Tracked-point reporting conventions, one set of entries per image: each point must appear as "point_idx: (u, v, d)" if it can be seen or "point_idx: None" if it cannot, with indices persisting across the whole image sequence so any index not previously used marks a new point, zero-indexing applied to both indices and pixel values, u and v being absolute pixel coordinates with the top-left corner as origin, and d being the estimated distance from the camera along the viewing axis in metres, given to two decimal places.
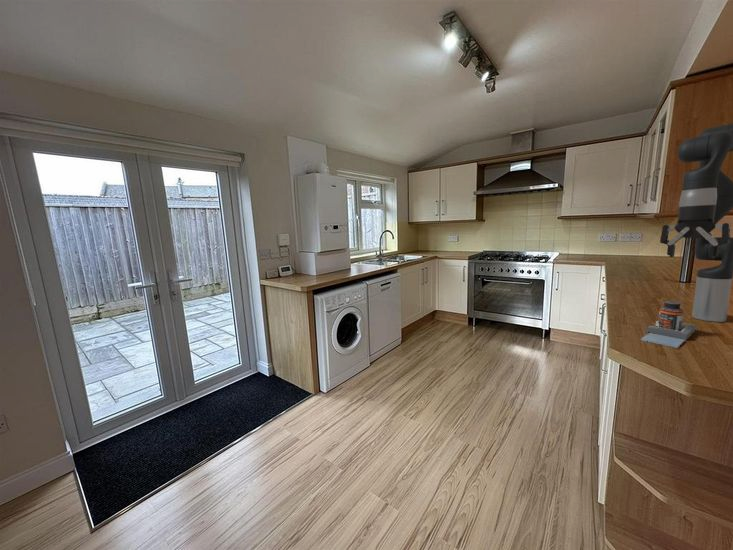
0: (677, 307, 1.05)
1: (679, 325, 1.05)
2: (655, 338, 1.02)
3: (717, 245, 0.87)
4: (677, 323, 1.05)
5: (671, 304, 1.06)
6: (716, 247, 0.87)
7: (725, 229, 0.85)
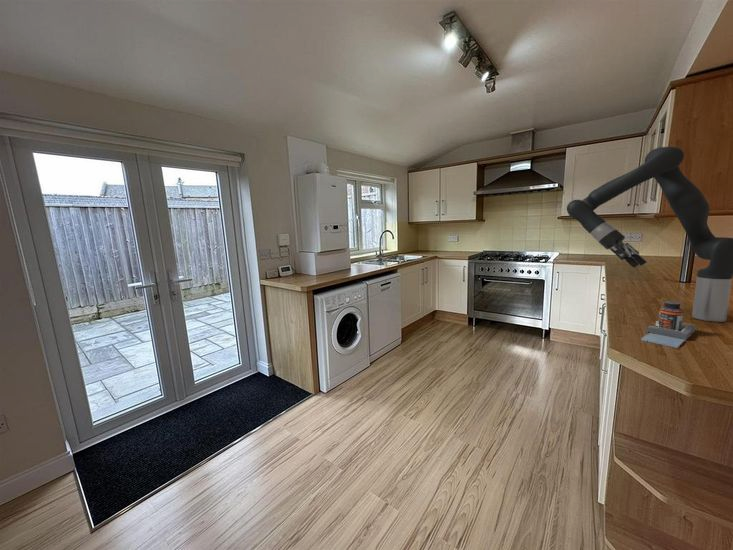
0: (677, 307, 1.05)
1: (679, 325, 1.05)
2: (655, 338, 1.02)
3: (625, 259, 1.14)
4: (677, 324, 1.05)
5: (671, 304, 1.06)
6: None
7: None
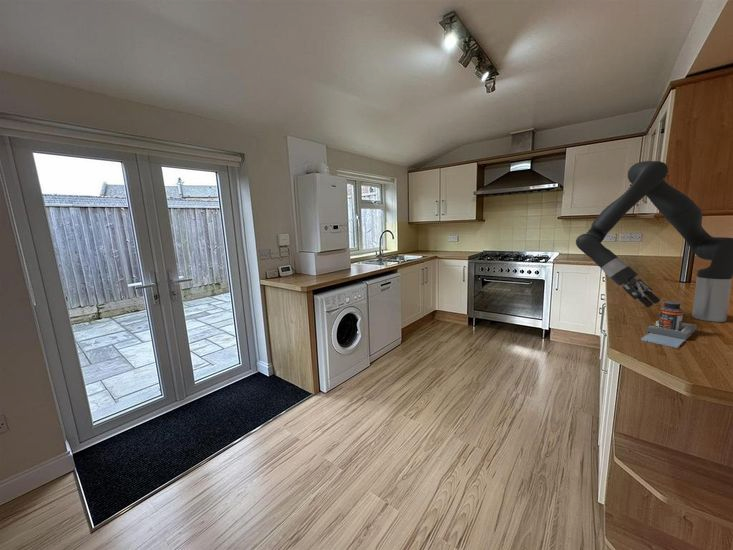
0: (677, 307, 1.05)
1: (679, 325, 1.05)
2: (655, 338, 1.02)
3: (638, 299, 1.11)
4: (677, 323, 1.05)
5: (671, 304, 1.06)
6: None
7: None
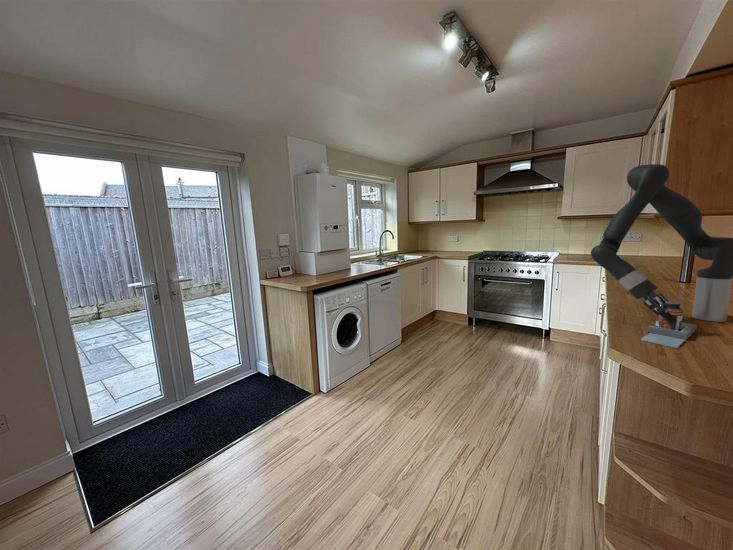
0: (677, 307, 1.05)
1: (679, 325, 1.05)
2: (655, 338, 1.02)
3: None
4: (677, 323, 1.05)
5: (671, 304, 1.06)
6: None
7: None
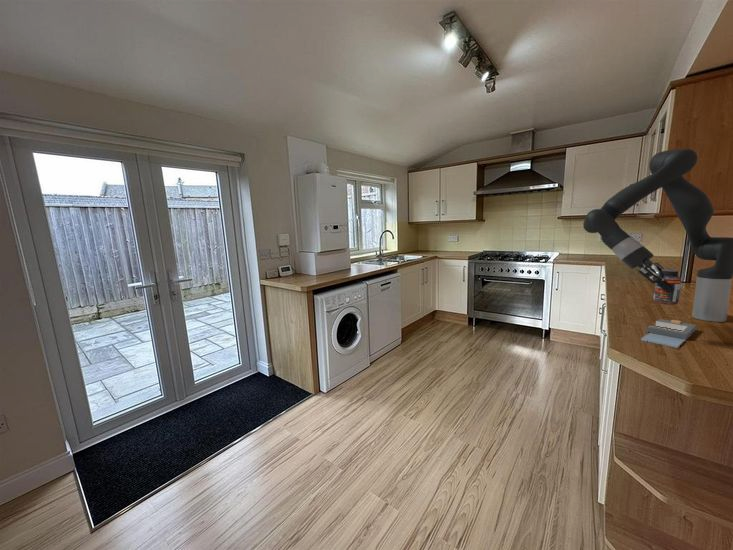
0: (675, 275, 0.96)
1: (677, 294, 0.96)
2: (655, 338, 1.02)
3: (657, 283, 0.97)
4: (675, 293, 0.96)
5: (668, 271, 0.96)
6: None
7: None
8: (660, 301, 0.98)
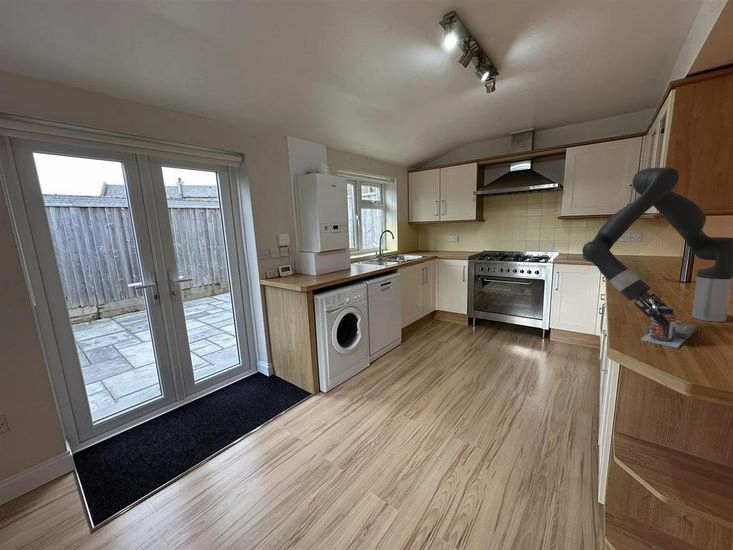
0: (670, 312, 0.98)
1: (672, 331, 0.98)
2: None
3: (653, 317, 0.99)
4: (670, 330, 0.98)
5: (663, 309, 0.99)
6: None
7: None
8: (656, 337, 1.00)
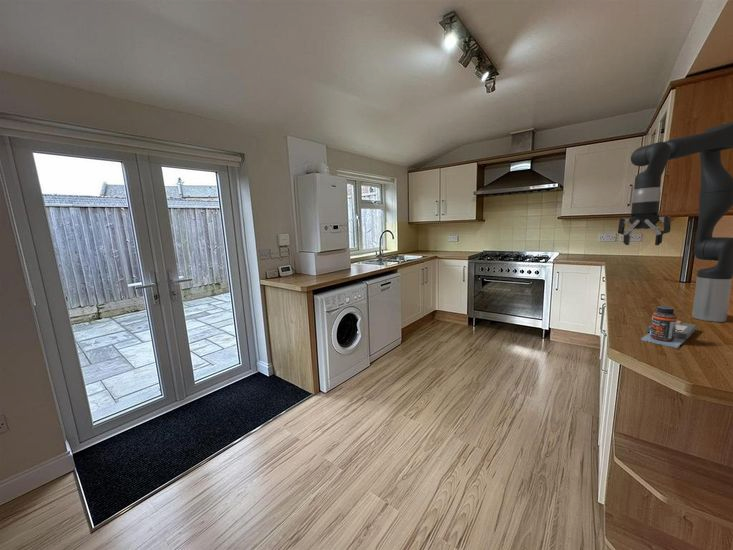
0: (670, 312, 0.98)
1: (672, 332, 0.98)
2: None
3: (660, 234, 1.06)
4: (671, 330, 0.98)
5: (664, 309, 0.99)
6: (660, 236, 1.06)
7: (666, 221, 1.04)
8: (656, 337, 1.00)
